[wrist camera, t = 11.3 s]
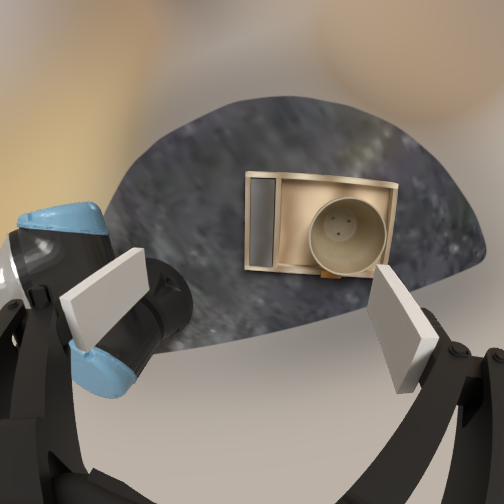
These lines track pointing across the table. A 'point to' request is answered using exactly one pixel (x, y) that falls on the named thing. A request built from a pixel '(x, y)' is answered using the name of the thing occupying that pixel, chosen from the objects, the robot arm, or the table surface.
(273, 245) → the wooden tray
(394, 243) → the table surface
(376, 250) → the flower pot
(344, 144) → the table surface
